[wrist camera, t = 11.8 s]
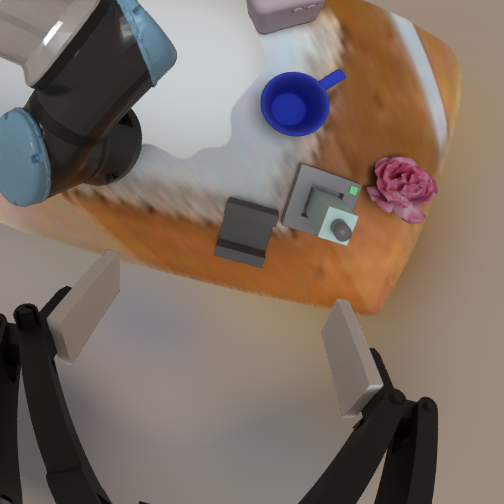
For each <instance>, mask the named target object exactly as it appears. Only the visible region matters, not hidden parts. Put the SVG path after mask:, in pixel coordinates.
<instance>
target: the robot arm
mask: <svg viewBox="0 0 504 504" xmlns="http://www.w3.org/2000/svg"><path fill="white" fill-rule="evenodd" d="M0 57H1V58H4V59H6V60H9V61H11V62H14V63H16V64H18V65H21V66H22V68H23V70H24V76H25V82H26V85H27V86H29V87H31V88H34V89H35V90H34V92H33V93H32V95H31V96H30V98H29V100H28V101H27V103H26V105H25V106H24V107H23V108H14V109H12V110H11V111H9V112H7V113H5V114H4V115H3V116H2V117H1V118H0V192H1V193H2V195H3V196H4V197H5V198H6V199H7V200H8V201H9V202H10V203H12V204H13V205H16V206H22V207H26V206H30V205H33V204H36V203H41V202H43V201H45V200H46V199H47V198H49V197H52V196H54V195H56V194H58V193H60V192H63V191H65V190H67V189H70V188H72V187H74V186H77V185H79V184H82V183H84V184H89V185H96V186H101V185H107V184H110V183H112V182H115V181H117V180H119V179H121V178H122V177H124V176H125V175H126V174H127V173H128V172H129V171H130V170H131V169H132V167H133V166H134V164H135V163H136V161H137V158H138V156H139V153H140V149H141V143H142V134H141V127H140V123H139V120H138V118H137V116H136V114H135V113H134V111H133V110H132V109H131V107H132V106H133V105H134V104H135V103H136V102H137V101H138V100H139V99H140V98H141V97H142V96H143V95H144V94H145V93H146V92H147V91H148V90H149V89H150V88H151V87H155V86H156V84H157V81H158V80H159V79H160V78H161V77H162V76H163V75H164V74H165V73H166V72H167V71H168V70H170V69H171V68H172V67H173V65H174V64H175V62H176V59H177V52H176V49H175V47H174V46H173V44H172V43H171V41H170V40H169V38H168V37H167V35H166V34H165V33H164V32H163V30H162V29H161V28H160V26H159V25H158V24H157V23H156V22H155V20H154V19H153V18H152V17H151V16H150V15H149V14H148V12H147V11H145V10H144V8H143V7H142V6H141V5H140V4H139V3H138V1H137V0H0ZM119 255H120V252H117V251H113V250H109V249H108V250H107V251H106V252H105V253H104V254H103V255H102V257H101V258H100V259H99V260H98V261H97V262H96V263H95V264H94V265H93V266H92V267H91V268H90V269H89V270H88V271H87V272H86V273H85V275H84V276H83V277H82V278H81V279H80V280H79V281H78V282H77V283H76V284H75V286H74V287H73V288H71V287H68V286H66V287H64V288H62V289H60V290H59V291H58V292H57V293H56V294H55V295H54V297H52V298H51V300H50V301H49V302H48V303H47V304H46V305H45V306H44V307H43V308H42V310H41V311H40V312H38V309H37V307H36V306H35V305H33V304H29V303H28V304H22V305H20V306H18V307H17V308H16V309H15V311H14V314H13V316H14V319H15V321H16V324H13V323H8V322H7V319H6V317H5V316H4V315H3V314H0V504H22V489H21V482H20V472H19V463H18V448H17V407H18V391H19V379H20V371H21V367H22V375H23V381H24V388H25V393H26V398H27V403H28V407H29V413H30V417H31V421H32V425H33V429H34V432H35V435H36V439H37V443H38V446H39V449H40V452H41V455H42V458H43V461H44V464H45V466H46V470H47V475H46V479H47V483H48V486H49V488H50V490H51V493H52V495H53V497H54V500H55V502H56V504H112V502H111V501H110V499H109V498H108V496H107V494H106V492H105V491H104V490H103V488H102V487H101V485H100V483H99V481H98V480H97V477H96V476H95V474H94V472H93V469H92V467H91V465H90V463H89V461H88V459H87V457H86V455H85V452H84V450H83V448H82V445H81V443H80V441H79V438H78V435H77V433H76V430H75V427H74V425H73V422H72V419H71V416H70V413H69V411H68V408H67V404H66V401H65V398H64V395H63V391H62V388H61V385H60V381H59V377H58V373H57V369H56V365H55V361H54V357H55V355H56V354H58V357H59V360H60V361H62V362H64V363H66V364H68V365H71V366H73V364H74V362H75V361H76V359H77V357H78V356H79V354H80V352H81V351H82V349H83V347H84V346H85V344H86V342H87V341H88V339H89V337H90V336H91V334H92V333H93V331H94V329H95V328H96V326H97V325H98V323H99V321H100V320H101V318H102V317H103V315H104V314H105V312H106V311H107V309H108V308H109V306H110V305H111V303H112V301H113V300H114V299H115V297H116V296H117V294H118V293H119V291H120V271H119ZM321 334H322V337H323V341H324V345H325V349H326V353H327V357H328V360H329V364H330V368H331V372H332V376H333V381H334V385H335V389H336V393H337V397H338V402H339V406H340V410H341V415H342V418H353V417H356V416H357V415H358V414H359V413H360V412H362V416H363V417H362V419H360V420H359V421H358V423H357V424H356V425H355V426H354V427H353V428H355V429H354V430H353V432H352V433H351V435H350V436H349V438H348V439H347V441H346V442H345V444H344V445H343V447H342V448H341V450H340V451H339V453H338V454H337V455H336V457H335V458H334V460H333V461H332V463H331V464H330V465H329V466H328V468H327V469H326V471H325V472H324V473H323V474H322V476H321V477H320V478H319V479H318V481H317V482H316V483H315V485H314V486H313V487H312V488H311V489H310V491H309V492H308V493H307V494H306V495H305V496H304V498H303V499H302V500H301V501H300V502H299V503H298V504H356V503H357V501H358V499H359V498H360V497H361V495H362V493H363V492H364V490H365V488H366V487H367V485H368V483H369V481H370V480H371V478H372V476H373V474H374V473H375V471H376V469H377V467H378V465H379V464H380V462H381V460H382V458H383V455H384V454H385V452H386V450H387V453H386V458H385V463H384V468H383V472H382V476H381V481H380V484H379V488H378V492H377V495H376V499H375V502H374V504H432V498H433V491H434V483H435V474H436V461H437V443H438V408H437V405H436V403H435V402H434V401H433V400H432V399H431V398H429V397H422V398H421V399H420V400H419V401H418V402H414V401H410V400H406V397H405V395H404V394H403V393H402V392H401V391H400V390H398V389H395V388H394V387H393V385H392V382H391V380H390V377H389V375H388V373H387V370H386V369H385V365H384V364H383V361H382V358H381V356H380V355H379V353H378V352H377V351H376V350H375V349H374V348H369V347H368V345H367V342H366V340H365V337H364V335H363V333H362V330H361V328H360V326H359V323H358V321H357V319H356V317H355V314H354V312H353V310H352V308H351V305H350V303H349V301H348V300H343V299H338V298H337V300H336V302H335V304H334V307H333V309H332V311H331V313H330V315H329V317H328V319H327V321H326V323H325V325H324V327H323V329H322V331H321ZM139 504H148V503H144V502H141V501H140V502H139Z"/></svg>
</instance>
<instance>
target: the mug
mask: <svg viewBox="0 0 504 504" xmlns="http://www.w3.org/2000/svg"><path fill="white" fill-rule="evenodd" d="M345 77H346V76H345V74H344V73H343V71H342V70H340V69H337V70H335V71H334V72H332V73H331V74H329V75H327V76H326V77H324V78H323V79H322V80H320V81H319V82H318V81H317V80H316V79H314V78H313V77H311V76H309V75H307V74H304V73H300V72H287V73H283V74H280V75H278V76H276V77H274V78H273V79H272V80H270V81H269V82H268V84H267V85H266V86H265V88H264V90H263V92H262V96H261V109H262V113H263V115H264V117H265V119H266V121H267V122H268V123H269V124H270V125H271V126H272V127H273V128H274V129H275V130H277V131H279V132H281V133H283V134H286V135H289V136H304V135H308V134H310V133H313V132H314V131H316V130H317V129H319V128H320V127H321V126H322V125H323V123H324V122H325V120H326V118H327V116H328V112H329V99H328V96H327V93H326V91H325V90H327V89H328V88H330V87H332V86H334V85H335V84H337V83H338V82H340V81H342V80H343V79H345Z"/></svg>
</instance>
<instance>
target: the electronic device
mask: <svg viewBox="0 0 504 504" xmlns="http://www.w3.org/2000/svg"><path fill="white" fill-rule="evenodd" d="M325 1H326V0H247V7H248V14H249V16H250V18H251V19H252V21H253V23H254V25H255V27H256V28H257V30H258V31H259V32H261V33H270V32H273V31H276V30H280V29H283V28H287V27H290V26H294V25H298V24H302V23H306V22H310V21H313V20H315V19H316V18H317V16H318V14H319V12H320V10H321V9H322V7H323V5H324V3H325Z"/></svg>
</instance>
